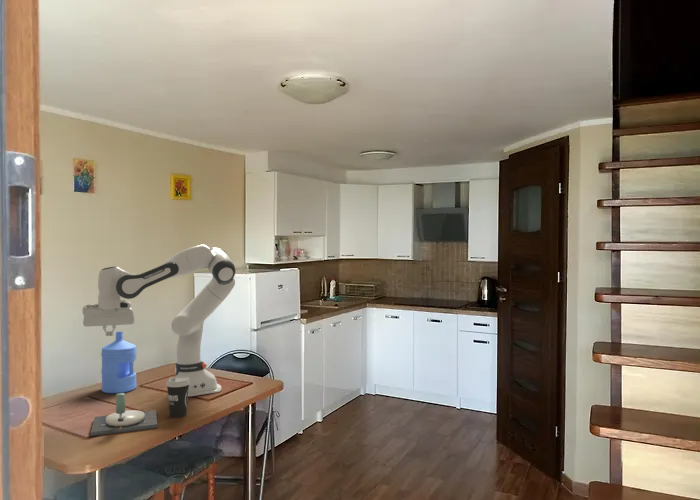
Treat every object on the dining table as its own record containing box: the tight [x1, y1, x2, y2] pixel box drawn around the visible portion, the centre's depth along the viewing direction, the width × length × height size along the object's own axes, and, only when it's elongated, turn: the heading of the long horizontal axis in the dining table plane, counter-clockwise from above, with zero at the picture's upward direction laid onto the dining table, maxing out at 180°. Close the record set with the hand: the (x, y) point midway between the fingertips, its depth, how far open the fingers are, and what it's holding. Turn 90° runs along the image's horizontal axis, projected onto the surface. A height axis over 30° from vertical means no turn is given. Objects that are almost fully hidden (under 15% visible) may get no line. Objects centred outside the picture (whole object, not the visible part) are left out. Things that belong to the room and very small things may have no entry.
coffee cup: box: [165, 376, 190, 419], centre depth 213 cm, size 10×10×15 cm
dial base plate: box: [90, 409, 158, 437], centre depth 202 cm, size 23×18×2 cm
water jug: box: [100, 331, 137, 394], centre depth 250 cm, size 16×16×28 cm
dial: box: [106, 392, 145, 426], centre depth 202 cm, size 14×14×12 cm
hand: (109, 335), depth 223 cm, fingers closed
